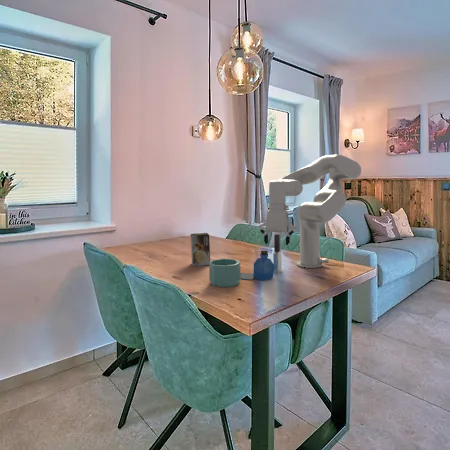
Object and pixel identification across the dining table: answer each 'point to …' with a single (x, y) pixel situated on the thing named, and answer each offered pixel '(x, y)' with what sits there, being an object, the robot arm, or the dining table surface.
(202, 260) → the coffee box
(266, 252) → the perfume bottle
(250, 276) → the rubber mat
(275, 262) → the brushed metal bar
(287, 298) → the dining table surface
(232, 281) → the utensil pot
